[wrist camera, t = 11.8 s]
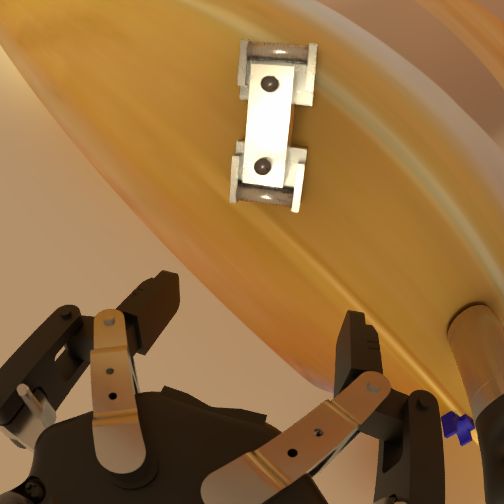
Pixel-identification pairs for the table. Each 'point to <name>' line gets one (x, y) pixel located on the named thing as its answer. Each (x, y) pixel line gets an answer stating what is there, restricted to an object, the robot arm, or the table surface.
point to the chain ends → (306, 69)
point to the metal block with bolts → (269, 124)
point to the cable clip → (458, 427)
